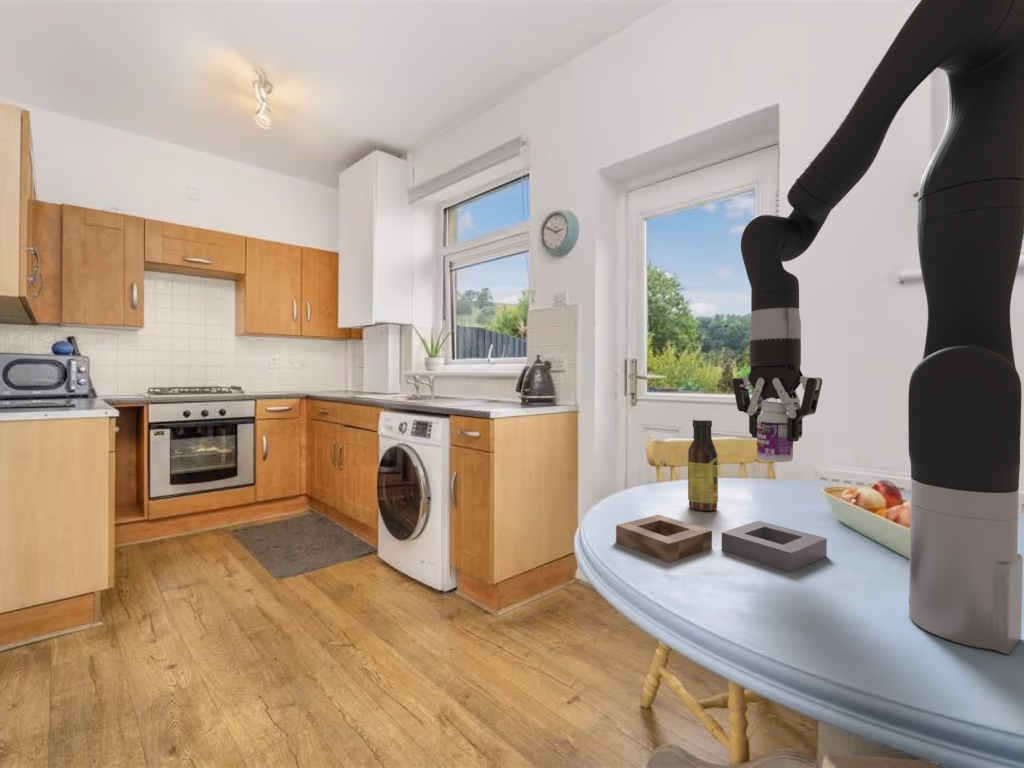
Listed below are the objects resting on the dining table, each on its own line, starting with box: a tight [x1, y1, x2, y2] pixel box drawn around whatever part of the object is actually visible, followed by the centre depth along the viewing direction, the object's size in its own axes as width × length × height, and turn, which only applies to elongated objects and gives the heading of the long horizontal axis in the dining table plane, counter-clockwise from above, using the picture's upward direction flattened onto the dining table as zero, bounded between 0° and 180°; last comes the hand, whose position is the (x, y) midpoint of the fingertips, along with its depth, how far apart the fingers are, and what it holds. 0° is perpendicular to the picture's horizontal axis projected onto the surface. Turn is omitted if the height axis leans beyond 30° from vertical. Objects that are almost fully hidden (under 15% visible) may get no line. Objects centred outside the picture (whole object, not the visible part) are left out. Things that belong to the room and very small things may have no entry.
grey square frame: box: [721, 520, 828, 573], centre depth 81 cm, size 12×12×3 cm
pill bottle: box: [756, 401, 794, 463], centre depth 80 cm, size 5×5×10 cm
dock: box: [615, 514, 713, 563], centre depth 85 cm, size 12×12×3 cm
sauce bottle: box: [687, 418, 719, 512], centre depth 108 cm, size 6×6×20 cm
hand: (774, 438), depth 80 cm, fingers closed on pill bottle, 5 cm apart
